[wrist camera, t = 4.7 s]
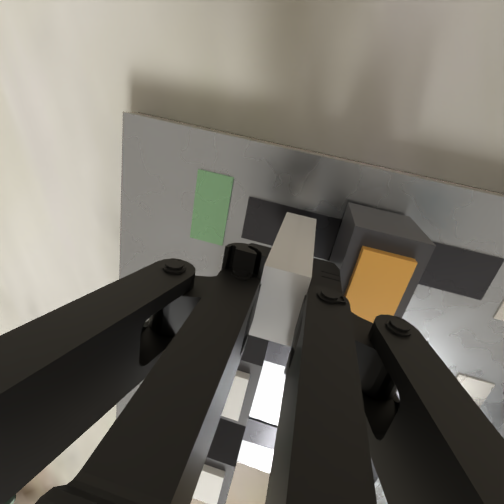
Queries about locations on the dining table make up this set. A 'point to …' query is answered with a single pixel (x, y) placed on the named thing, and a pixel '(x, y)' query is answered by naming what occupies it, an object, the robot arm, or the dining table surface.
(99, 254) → the dining table surface
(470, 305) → the panel
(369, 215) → the orange and grey switch
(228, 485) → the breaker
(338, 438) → the robot arm
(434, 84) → the dining table surface
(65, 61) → the dining table surface
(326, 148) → the dining table surface
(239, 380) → the breaker middle
